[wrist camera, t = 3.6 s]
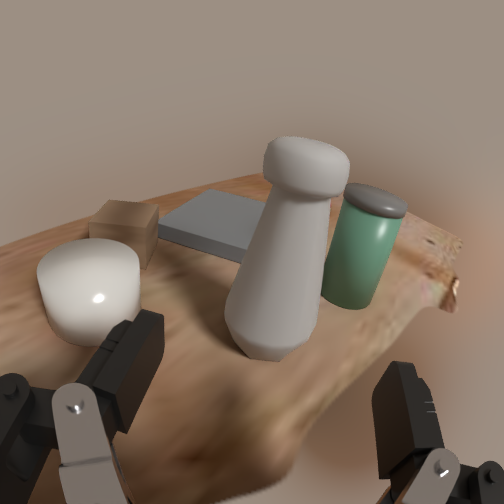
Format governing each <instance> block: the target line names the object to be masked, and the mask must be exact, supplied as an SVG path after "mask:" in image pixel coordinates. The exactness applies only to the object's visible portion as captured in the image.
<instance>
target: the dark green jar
mask: <svg viewBox="0 0 504 504" xmlns="http://www.w3.org/2000/svg"><path fill="white" fill-rule="evenodd" d="M343 196H344V199H343V203H342V207H341V210H340V214H339V217H338V221H337V224H336V228H335V231H334V235H333V238H332V242H331V245H330V248H329V252H328V255H327V258H326V262H325V265H324V271H323V279H322V287H321V294H322V296H323V297H324V298H326V299H327V300H328V301H329V302H331V303H333V304H335V305H337V306H339V307H342V308H346V309H352V310H358V309H363V308H366V307H367V306H368V305H369V304H370V302H371V300H372V297H373V295H374V293H375V290H376V288H377V285H378V283H379V280H380V278H381V276H382V273H383V271H384V268H385V265H386V263H387V260H388V258H389V255H390V252H391V250H392V247H393V244H394V242H395V239H396V236H397V233H398V230H399V228H400V225H401V222H402V219H403V217H405V214H406V211H407V208H408V205H407V203H406V202H405V201H403V200H402V199H401V198H399V197H397V196H396V195H394V194H392V193H389V192H387V191H385V190H382V189H379V188H376V187H373V186H369V185H364V184H358V183H348V184H346V187H345V190H344V194H343Z"/></svg>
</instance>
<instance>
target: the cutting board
mask: <svg viewBox="0 0 504 504" xmlns="http://www.w3.org/2000/svg"><path fill="white" fill-rule="evenodd" d="M265 204H266V203H265V202H261V201H257V200H253V199H249V198H245V197H242V196H238V195H234V194H230V193H226V192H222V191H217V190H213V189H208V190H207V191H205V192H203V193H201V194H200V195H198V196H196V197H195V198H193V199H191V200H190V201H188V202H186V203H185V204H183V205H181V206H180V207H178V208H177V209H175V210H173V211H172V212H170V213H168V214H167V215H165V216H164V217H162V218H160V219H159V220H158V237H159V238H162V239H165V240H168V241H171V242H175V243H178V244H181V245H184V246H187V247H190V248H194V249H197V250H200V251H203V252H206V253H210V254H213V255H216V256H219V257H222V258H226V259H229V260H232V261H235V262H238V263H242V260H243V258H244V256H245V253H246V251H247V248H248V246H249V244H250V241H251V239H252V236H253V234H254V231H255V229H256V227H257V224H258V222H259V219H260V217H261V215H262V212H263V210H264V207H265Z"/></svg>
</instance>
